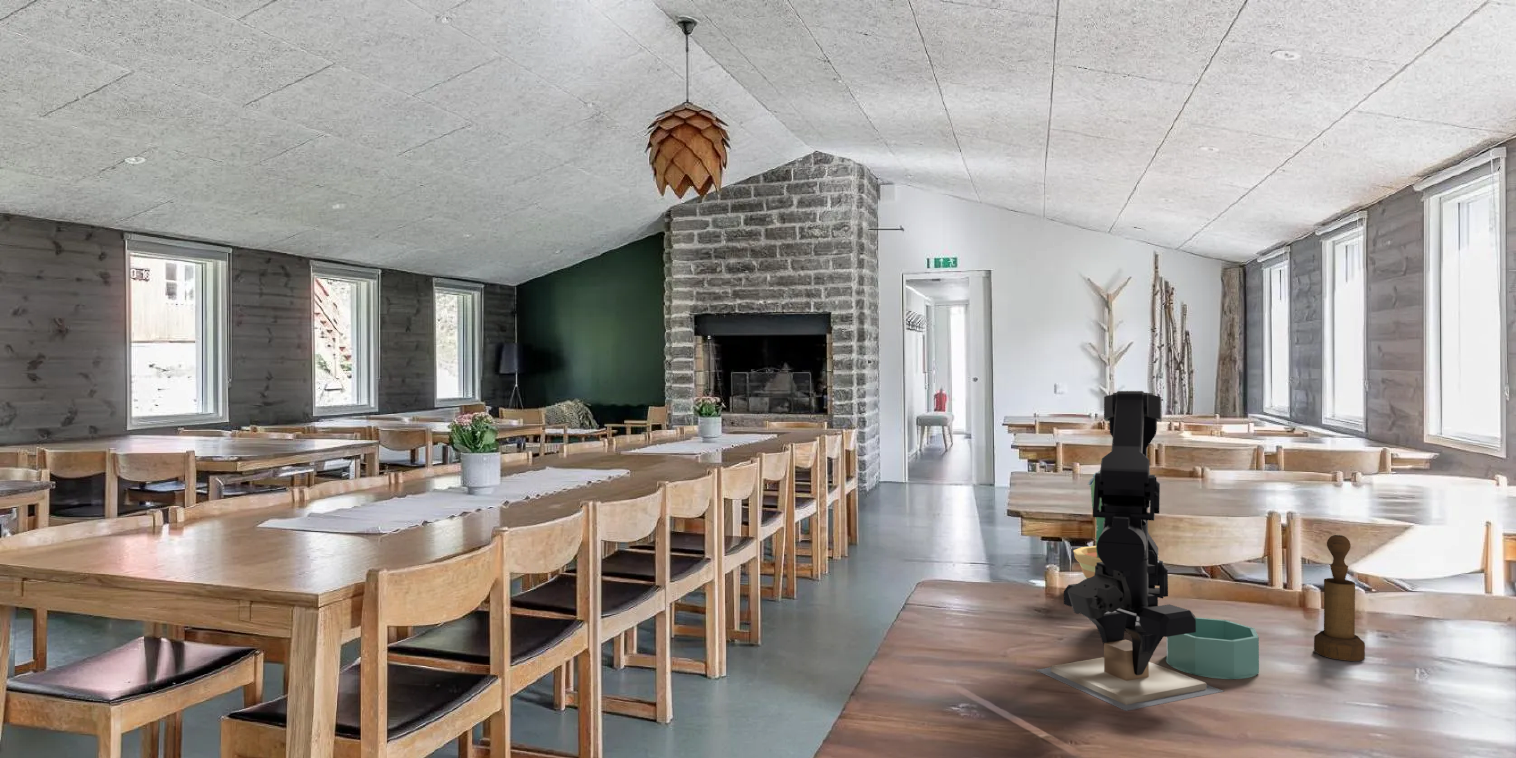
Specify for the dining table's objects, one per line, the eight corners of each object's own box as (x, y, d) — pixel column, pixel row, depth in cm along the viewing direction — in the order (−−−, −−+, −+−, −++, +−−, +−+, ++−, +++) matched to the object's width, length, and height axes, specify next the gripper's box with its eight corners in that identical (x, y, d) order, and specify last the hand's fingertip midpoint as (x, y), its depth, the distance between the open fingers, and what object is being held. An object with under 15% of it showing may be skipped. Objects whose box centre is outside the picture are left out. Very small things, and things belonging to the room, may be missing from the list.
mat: (1035, 674, 128) (1035, 669, 128) (1126, 658, 135) (1126, 654, 135) (1125, 715, 113) (1125, 710, 113) (1224, 695, 119) (1224, 691, 119)
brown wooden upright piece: (1373, 662, 132) (1372, 540, 132) (1324, 660, 133) (1323, 539, 133) (1353, 648, 139) (1352, 532, 139) (1306, 646, 140) (1306, 531, 140)
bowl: (1147, 663, 133) (1147, 622, 133) (1206, 653, 138) (1206, 613, 138) (1216, 689, 122) (1216, 645, 122) (1278, 677, 127) (1278, 634, 127)
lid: (1051, 671, 128) (1050, 637, 128) (1126, 658, 133) (1126, 626, 133) (1125, 704, 115) (1125, 667, 115) (1206, 689, 120) (1206, 653, 120)
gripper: (1033, 549, 129) (1034, 657, 129) (1132, 576, 112) (1133, 701, 112) (1093, 543, 134) (1094, 648, 134) (1198, 567, 116) (1199, 688, 116)
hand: (1126, 669), depth 124 cm, fingers closed on lid, 4 cm apart
